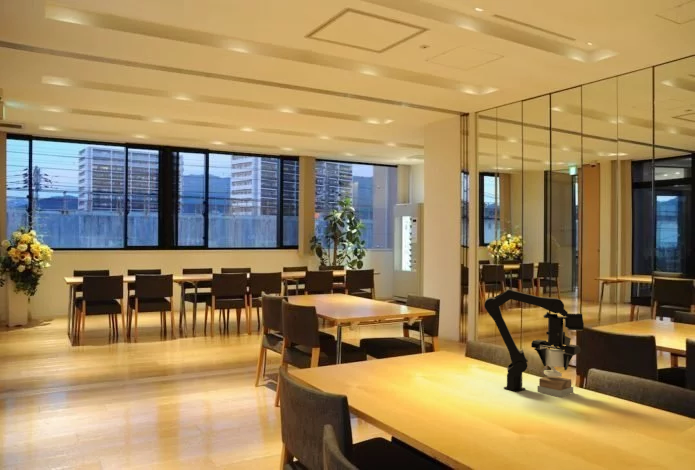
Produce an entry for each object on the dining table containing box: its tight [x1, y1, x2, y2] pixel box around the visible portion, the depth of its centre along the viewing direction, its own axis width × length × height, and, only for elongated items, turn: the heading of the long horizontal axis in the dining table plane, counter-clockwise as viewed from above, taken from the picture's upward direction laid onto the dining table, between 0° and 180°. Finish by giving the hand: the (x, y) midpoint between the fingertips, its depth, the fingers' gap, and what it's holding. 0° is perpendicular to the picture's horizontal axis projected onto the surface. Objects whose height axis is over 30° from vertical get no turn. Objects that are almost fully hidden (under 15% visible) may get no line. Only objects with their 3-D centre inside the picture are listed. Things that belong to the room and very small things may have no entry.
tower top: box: [538, 375, 572, 391], centre depth 230 cm, size 9×9×3 cm
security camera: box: [543, 348, 566, 378], centre depth 231 cm, size 6×7×10 cm
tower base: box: [537, 385, 574, 398], centre depth 230 cm, size 10×10×3 cm
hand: (555, 368), depth 231 cm, fingers closed on security camera, 9 cm apart
